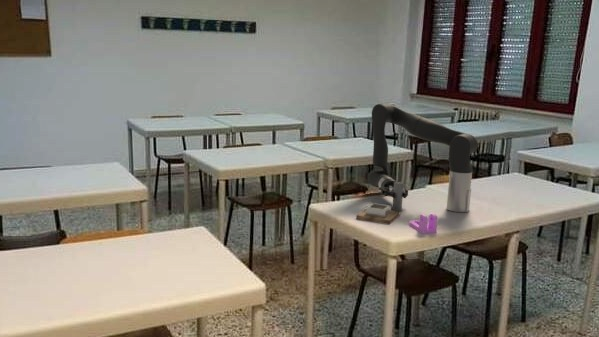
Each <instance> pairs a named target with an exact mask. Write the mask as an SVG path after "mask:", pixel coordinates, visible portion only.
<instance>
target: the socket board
mask: <svg viewBox="0 0 599 337" xmlns="http://www.w3.org/2000/svg"><path fill="white" fill-rule="evenodd" d="M391 209H392V205H391V204H390V205H388V204H382V203H376V202H371V203H370V204H369V205H368V206H366V207H365V208H364V209H363V210H362V211H360V212H358V213H357V214H356V216H355V217H356V218H355V219H357V220H361V221H367V222H372V223H378V224H379V223H380V224H387V225H390V224H392V223H393V222H394V221H395V220H396V219H397V218H398V217H399V216H400V211H393V210H391Z"/></svg>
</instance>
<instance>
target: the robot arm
mask: <svg viewBox="0 0 599 337" xmlns="http://www.w3.org/2000/svg"><path fill="white" fill-rule="evenodd" d="M388 123H389V124H394V125H397V126H399V127H402V128H403V129H405V131H407V132H408V133H409V134H411V135H412V136H413V137H414V136H415V137H416V138H419V139H422V140H423V141H428V142H433V143H439V144H443V145H446V146H449V147H448V148H449V152H448V164H449V165H448V166H449V175H448V176H449V177H448V188H447V200H446V209H447V210H449V211H452V212H456V213H468V212H469V210H470V208H471V207H470V204H471V197H472V195H471V194H472V178H473V177H472V176H473V165H472V164H471V162H470V160H471V159H470V158H471V155H472V154H473V153H474V152H476V151H477V150H478V147H479V143H478V140H477V138H476V137H475V136H474V135H473V134H470V133H468V132H463V131H459V130H455V129H452V128H450V127H447V126H445V125H443V124H440V123H438V122H436V121H433V120H431V119H429V118H426V117H424V116H421V115H418V114H414V113H412V112H407V111H405V110H403V109H402V108H399V107H397V106H395V105H393V104H392V103H389V102H388V103H387V102H385V103H383V102H382V103H377V104H376V105H374V106H373V107H372V110H371V124H372V135H373V151H372V152H373V154H372V165H373V166H375V167H379V168H381V170H372V171H370V172H368V174H367V181H368V183H369V184H370V186H372V187H375V188H378V194H380V195H382V196H384V197H391V198H392V199H393V198H396V193H395V192H393V191H394V182H397V181H396V180H395V179H393V178H392V177H391V176H390V172H389V171H390V170H389V166H388V162H389V161H388V160H389V147H388V141H387V139H386V134H385V130H386V124H388ZM408 196H409V187H407V186H405V187H403V199H406V198H408Z"/></svg>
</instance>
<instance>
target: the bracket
mask: <svg viewBox="0 0 599 337" xmlns="http://www.w3.org/2000/svg"><path fill="white" fill-rule="evenodd" d="M418 218H419V219H410V220H409V223H408V224H409V226H410V227H412V228H413V229H415V230H417V231H418V232H419V233H421V234H423V235H425V234H435V233H437V230H438V228H437V227H438V216H437V214H436V213H430V214H429V216H427V215H426V214H420V215H419V217H418Z"/></svg>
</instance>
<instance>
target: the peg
mask: <svg viewBox="0 0 599 337" xmlns="http://www.w3.org/2000/svg"><path fill="white" fill-rule="evenodd" d="M404 184H405V183H404V182H401V181H396V182H394V191H393V192H395V193H396V198H393V197H392V206H391V209H392V210H391V211H397V212H402V210H403V199H404V198H403V189H404Z"/></svg>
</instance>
